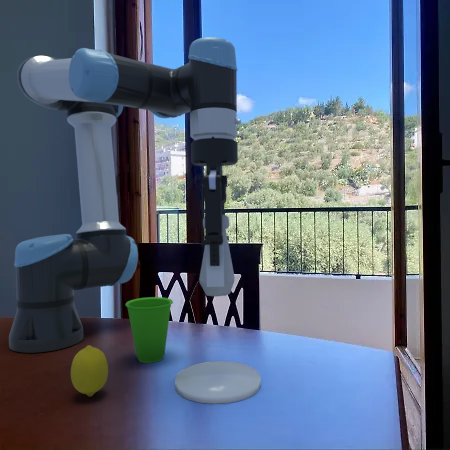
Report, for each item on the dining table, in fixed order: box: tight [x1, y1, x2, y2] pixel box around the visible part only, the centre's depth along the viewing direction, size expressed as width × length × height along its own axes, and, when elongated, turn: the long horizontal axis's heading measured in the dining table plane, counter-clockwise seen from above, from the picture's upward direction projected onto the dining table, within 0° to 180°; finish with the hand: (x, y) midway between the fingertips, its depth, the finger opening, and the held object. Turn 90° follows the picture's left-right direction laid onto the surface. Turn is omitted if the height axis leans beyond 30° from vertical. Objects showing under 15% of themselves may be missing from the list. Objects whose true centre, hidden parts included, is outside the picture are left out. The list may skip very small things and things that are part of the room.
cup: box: [125, 296, 174, 364], centre depth 81 cm, size 9×9×11 cm
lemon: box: [70, 345, 109, 397], centre depth 65 cm, size 6×6×8 cm
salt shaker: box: [198, 214, 236, 297], centre depth 68 cm, size 6×6×13 cm
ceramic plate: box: [174, 360, 262, 405], centre depth 69 cm, size 14×14×1 cm
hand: (216, 282), depth 68 cm, fingers closed on salt shaker, 6 cm apart
